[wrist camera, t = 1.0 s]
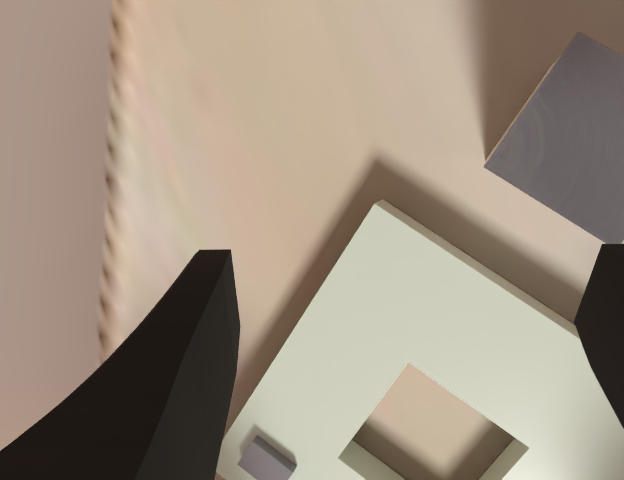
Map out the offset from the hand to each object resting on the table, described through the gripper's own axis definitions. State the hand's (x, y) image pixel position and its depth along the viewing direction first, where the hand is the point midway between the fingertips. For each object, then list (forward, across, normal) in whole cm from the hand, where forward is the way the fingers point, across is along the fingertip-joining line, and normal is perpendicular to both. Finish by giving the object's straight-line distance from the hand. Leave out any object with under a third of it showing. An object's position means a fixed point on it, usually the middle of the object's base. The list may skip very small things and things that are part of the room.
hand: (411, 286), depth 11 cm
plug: (+12, -8, +3) cm, 15 cm away
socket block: (+8, -4, +16) cm, 18 cm away
